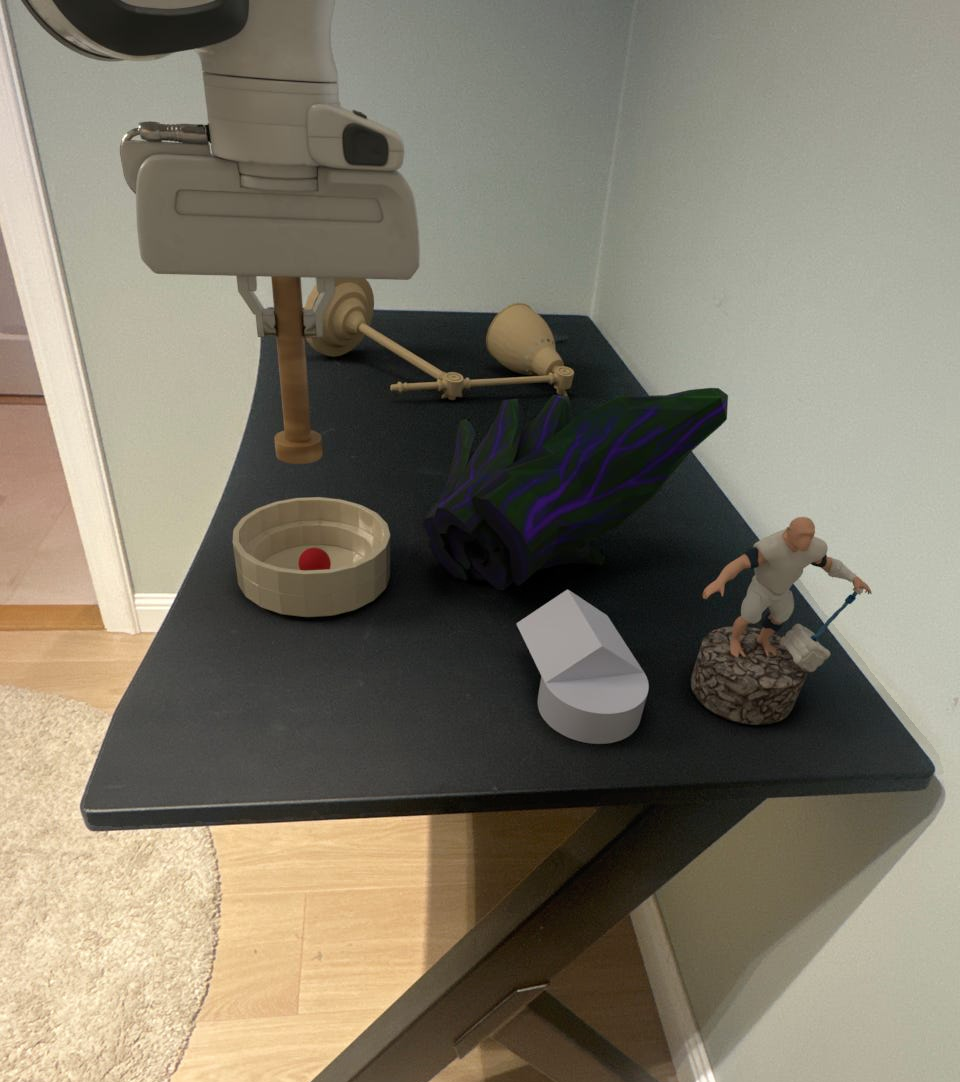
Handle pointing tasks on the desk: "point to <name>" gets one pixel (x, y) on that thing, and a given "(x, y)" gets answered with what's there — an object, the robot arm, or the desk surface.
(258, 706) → the desk surface
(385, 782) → the desk surface
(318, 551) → the berry
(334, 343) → the desk lamp
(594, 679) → the wedge on round base
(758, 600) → the figurine
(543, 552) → the decorative plant
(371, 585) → the bowl
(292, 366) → the wooden pestle
